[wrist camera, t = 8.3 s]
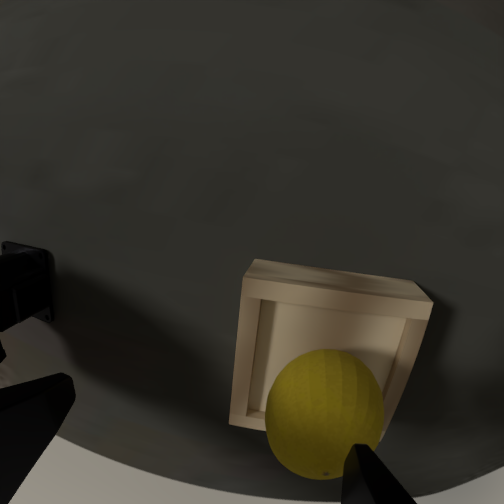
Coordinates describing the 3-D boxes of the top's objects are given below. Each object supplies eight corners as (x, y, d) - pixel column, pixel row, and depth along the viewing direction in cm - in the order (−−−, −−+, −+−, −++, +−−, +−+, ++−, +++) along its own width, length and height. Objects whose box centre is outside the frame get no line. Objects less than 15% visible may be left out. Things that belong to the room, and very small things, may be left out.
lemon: (388, 361, 17) (424, 463, 9) (320, 416, 18) (319, 519, 10) (322, 303, 16) (333, 399, 9) (254, 367, 18) (222, 471, 10)
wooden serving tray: (240, 390, 22) (228, 424, 18) (255, 258, 20) (243, 277, 16) (373, 407, 21) (380, 441, 17) (412, 280, 18) (433, 302, 15)
